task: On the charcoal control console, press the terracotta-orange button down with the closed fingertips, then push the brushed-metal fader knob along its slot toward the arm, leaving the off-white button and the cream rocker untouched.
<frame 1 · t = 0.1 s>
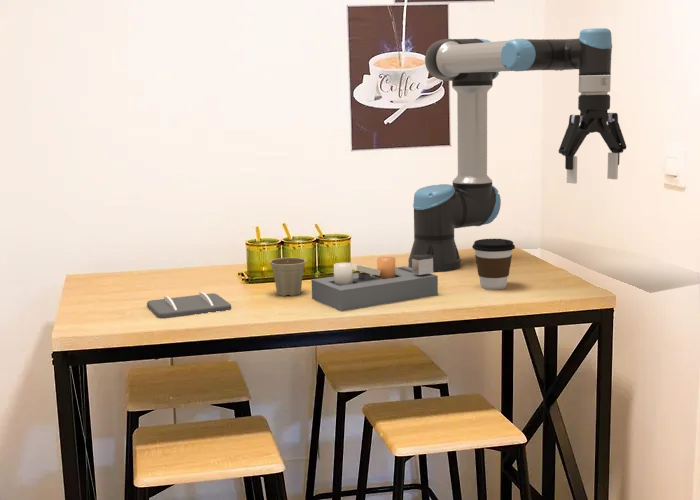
hand: (592, 181, 227), 28 cm above the table, fingers open, 13 cm apart
coffee cup: (493, 287, 240), on the table
console: (375, 297, 232), on the table
button orange: (386, 270, 232), point 6 cm above the table, slide at 0.0 cm
fader: (422, 264, 232), point 8 cm above the table, slide at 0.0 cm
grey flat slab: (188, 310, 226), on the table
button white: (343, 276, 226), point 6 cm above the table, slide at 0.0 cm
flower pot: (289, 294, 238), on the table
rocker: (364, 268, 229), point 8 cm above the table, hinge at -18.0°
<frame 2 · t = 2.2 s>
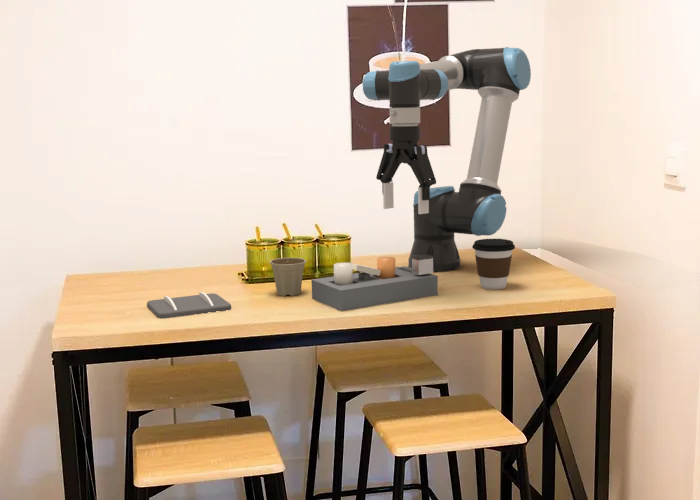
hand: (405, 211, 229), 22 cm above the table, fingers open, 13 cm apart
nothing on the table moved.
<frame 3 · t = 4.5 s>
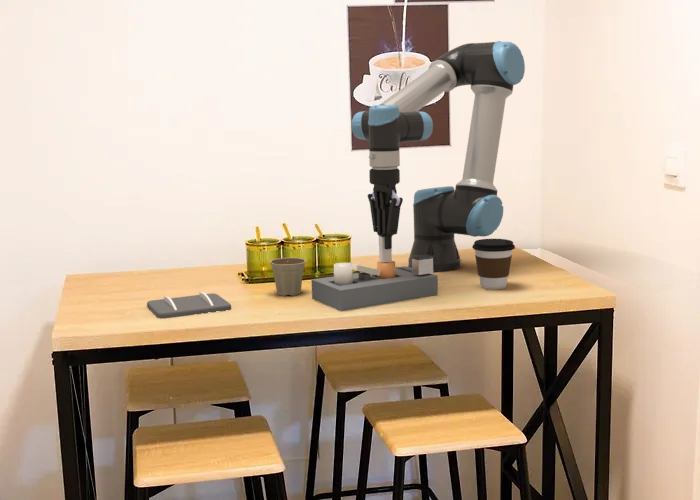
hand: (385, 261, 232), 9 cm above the table, fingers closed
button orange: (386, 273, 233), point 6 cm above the table, slide at 1.0 cm, touching gripper
everything else where it was.
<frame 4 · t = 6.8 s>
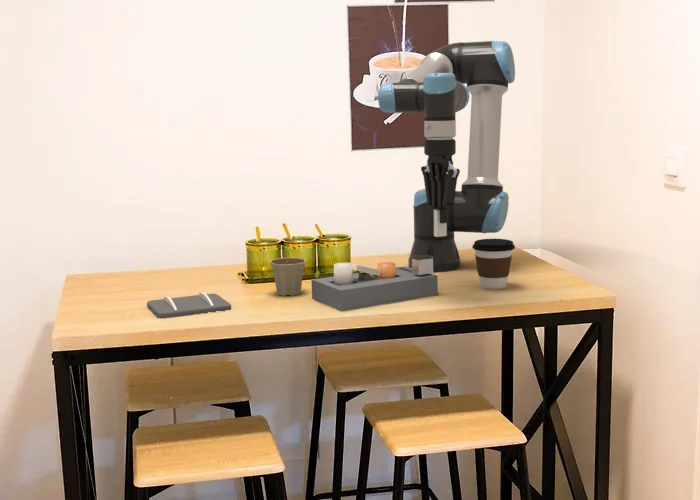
hand: (440, 235, 224), 16 cm above the table, fingers closed
button orange: (386, 275, 233), point 5 cm above the table, slide at 1.5 cm
everything else where it was.
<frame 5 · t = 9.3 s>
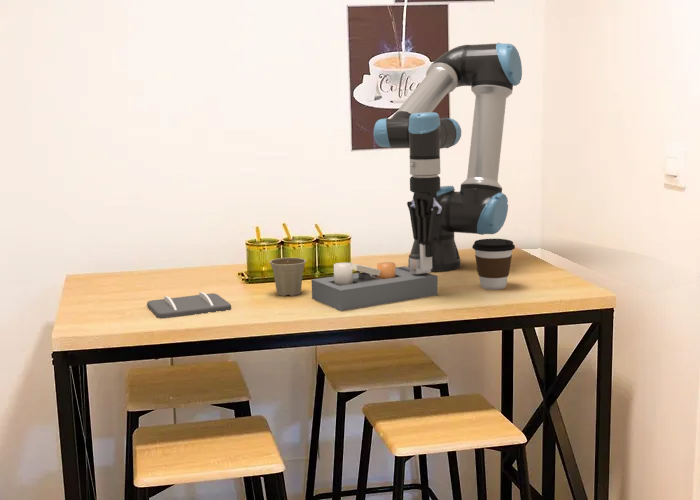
hand: (426, 269, 231), 7 cm above the table, fingers closed
fader: (420, 263, 233), point 8 cm above the table, slide at 1.1 cm, touching gripper
everything else where it was.
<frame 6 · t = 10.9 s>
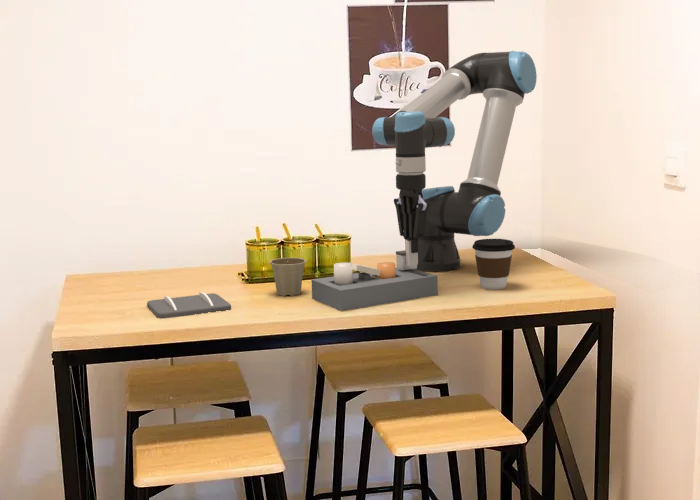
hand: (412, 264, 237), 7 cm above the table, fingers closed
fader: (406, 259, 238), point 8 cm above the table, slide at 7.3 cm, touching gripper
everything else where it was.
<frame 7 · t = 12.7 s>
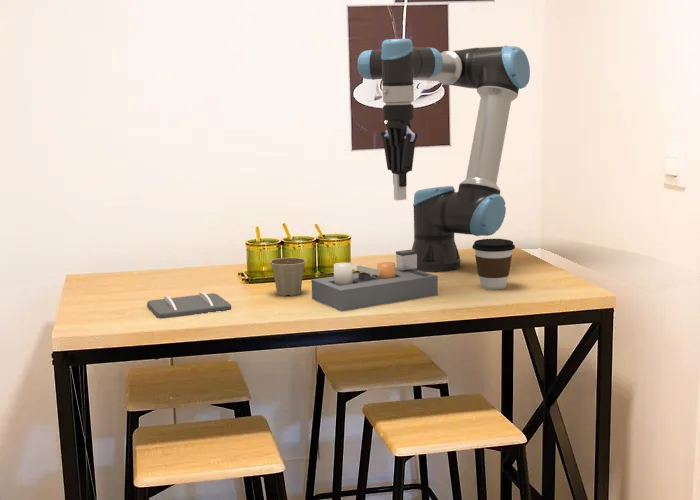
hand: (400, 199, 229), 24 cm above the table, fingers closed
fader: (406, 259, 238), point 8 cm above the table, slide at 7.3 cm
everything else where it was.
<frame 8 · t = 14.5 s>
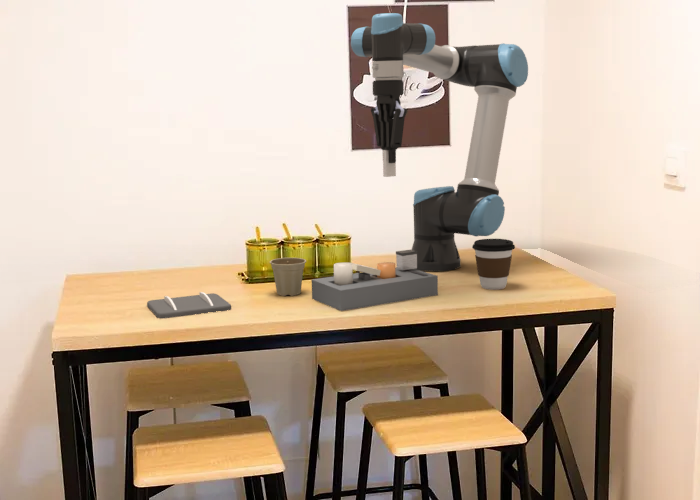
hand: (389, 176, 227), 30 cm above the table, fingers closed
nothing on the table moved.
at the end: button orange slide at 1.5 cm; fader slide at 7.3 cm; button white slide at 0.0 cm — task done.
